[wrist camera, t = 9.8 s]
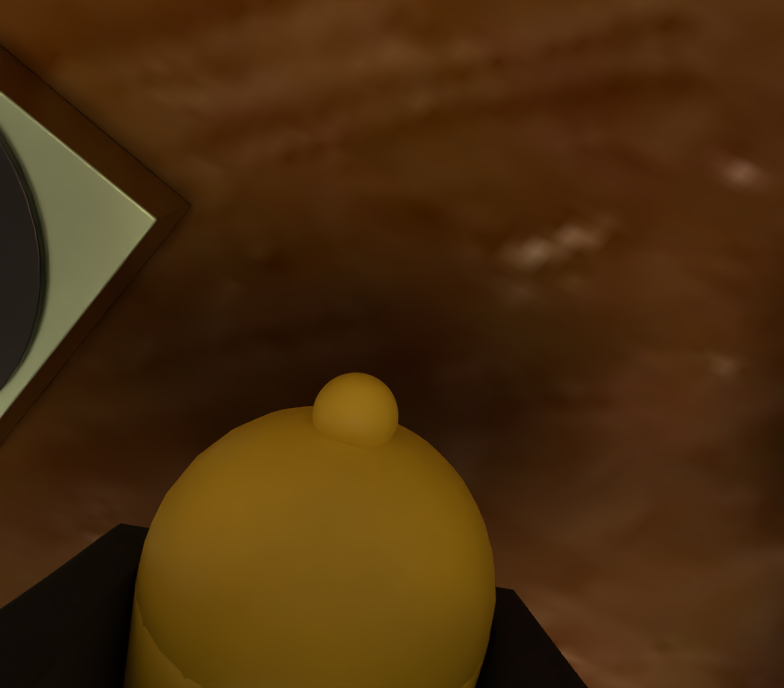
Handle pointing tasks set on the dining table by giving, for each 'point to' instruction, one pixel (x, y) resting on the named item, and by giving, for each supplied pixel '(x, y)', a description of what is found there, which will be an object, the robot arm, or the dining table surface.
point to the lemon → (315, 558)
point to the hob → (75, 223)
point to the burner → (18, 266)
